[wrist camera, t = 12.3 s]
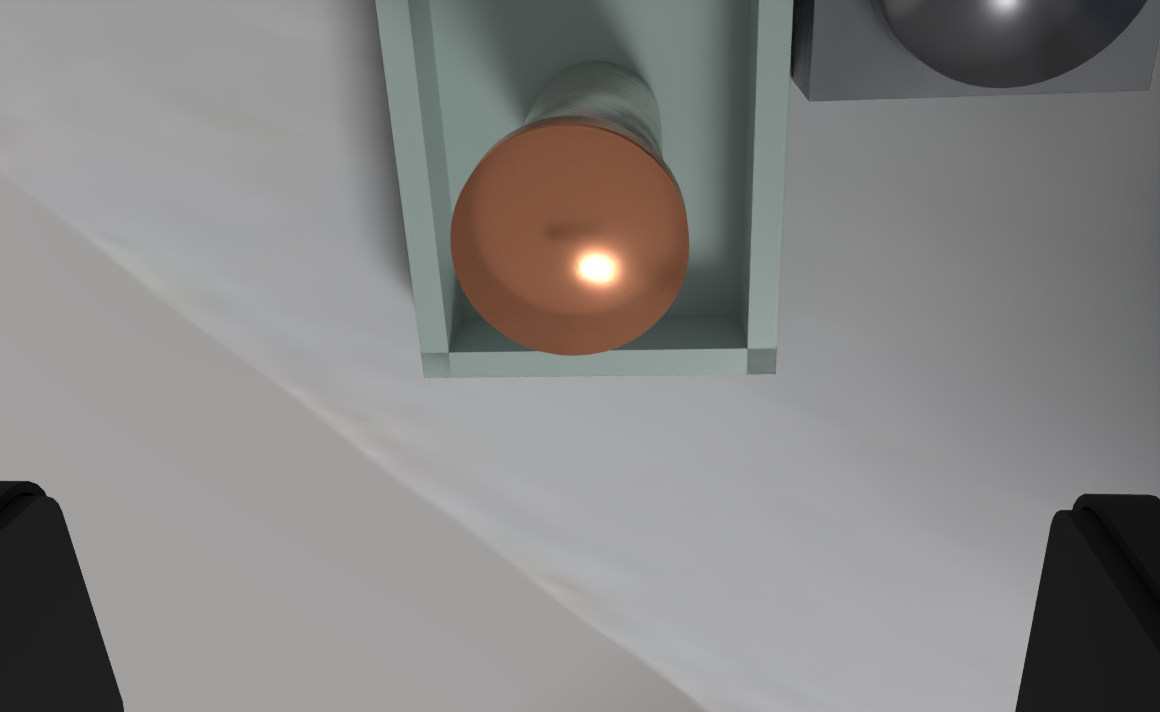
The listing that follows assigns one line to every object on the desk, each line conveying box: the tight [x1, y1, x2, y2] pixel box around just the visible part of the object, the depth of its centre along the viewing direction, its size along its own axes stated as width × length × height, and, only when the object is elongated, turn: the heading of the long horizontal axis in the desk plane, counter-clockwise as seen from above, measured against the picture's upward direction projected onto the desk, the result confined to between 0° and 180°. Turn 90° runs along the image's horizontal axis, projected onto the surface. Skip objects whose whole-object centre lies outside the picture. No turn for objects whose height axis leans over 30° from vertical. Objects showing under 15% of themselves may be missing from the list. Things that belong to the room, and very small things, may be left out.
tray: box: [375, 0, 793, 378], centre depth 26 cm, size 13×10×3 cm
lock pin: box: [450, 61, 689, 356], centre depth 22 cm, size 4×4×10 cm
